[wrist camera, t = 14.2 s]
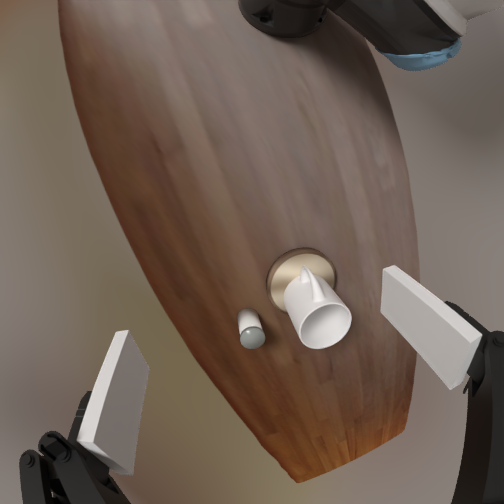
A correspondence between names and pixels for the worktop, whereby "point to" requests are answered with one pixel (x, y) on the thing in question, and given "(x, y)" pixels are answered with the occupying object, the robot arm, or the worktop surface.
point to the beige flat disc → (296, 272)
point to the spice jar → (250, 328)
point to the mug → (316, 310)
